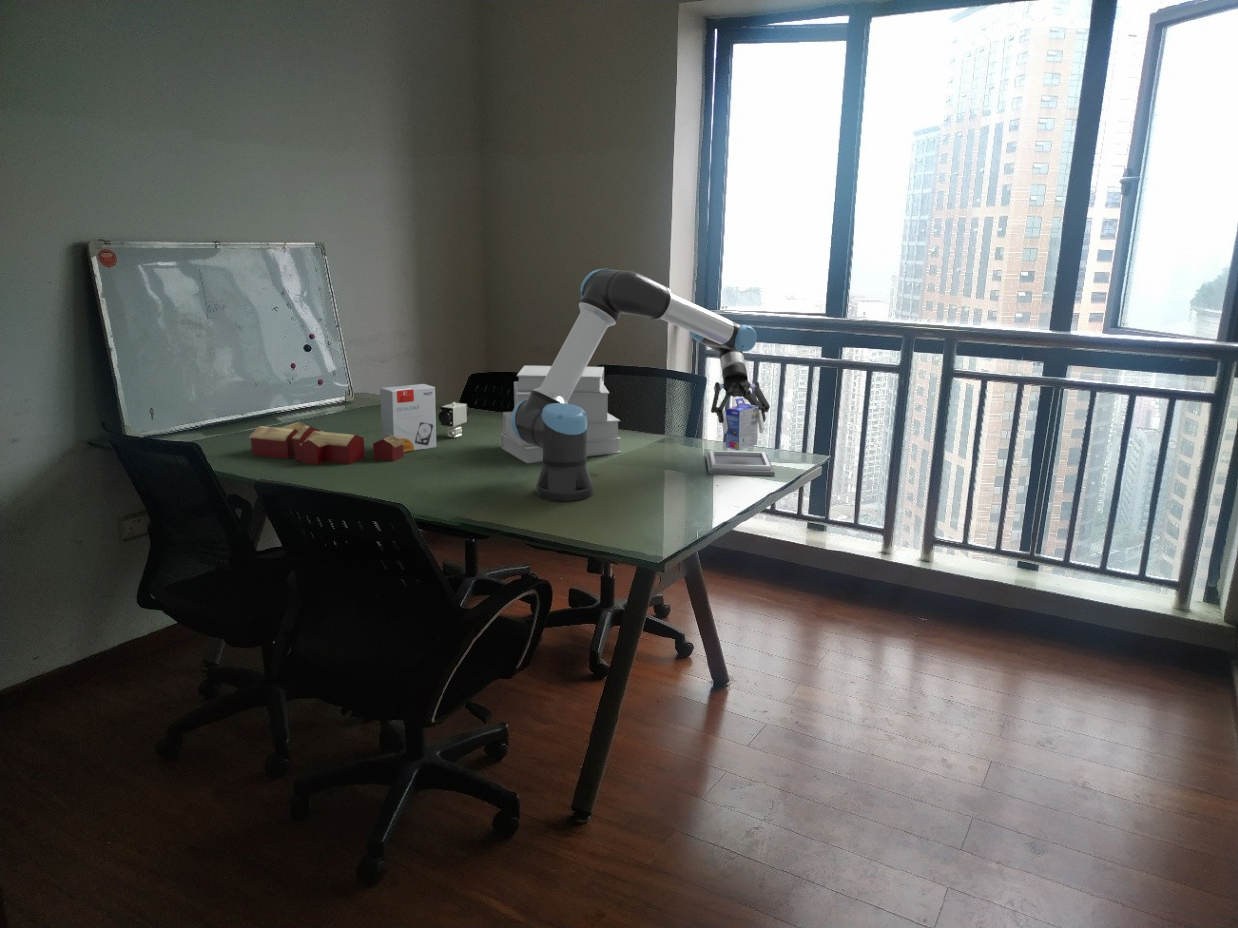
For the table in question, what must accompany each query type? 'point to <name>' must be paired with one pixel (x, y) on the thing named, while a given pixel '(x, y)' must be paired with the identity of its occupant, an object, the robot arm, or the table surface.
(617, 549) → the table surface
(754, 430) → the ink cartridge box
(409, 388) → the hard drive box
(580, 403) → the book stack
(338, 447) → the toy houses
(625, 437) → the table surface
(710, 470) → the dock board
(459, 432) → the pneumatic valve
